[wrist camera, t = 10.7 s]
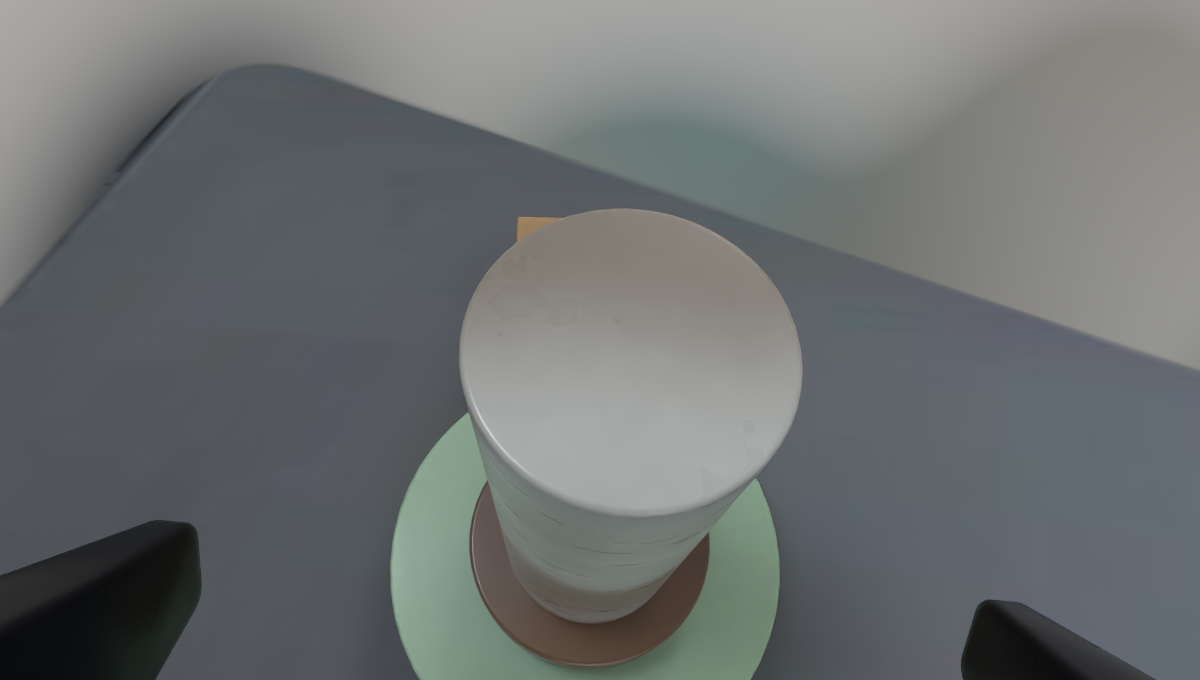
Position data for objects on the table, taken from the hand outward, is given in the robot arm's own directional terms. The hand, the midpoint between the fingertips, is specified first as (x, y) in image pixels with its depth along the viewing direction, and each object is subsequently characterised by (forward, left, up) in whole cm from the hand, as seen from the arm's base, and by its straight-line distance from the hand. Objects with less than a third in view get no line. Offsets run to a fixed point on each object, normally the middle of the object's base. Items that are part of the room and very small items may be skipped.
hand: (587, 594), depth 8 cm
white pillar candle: (+4, +3, -8) cm, 9 cm away
